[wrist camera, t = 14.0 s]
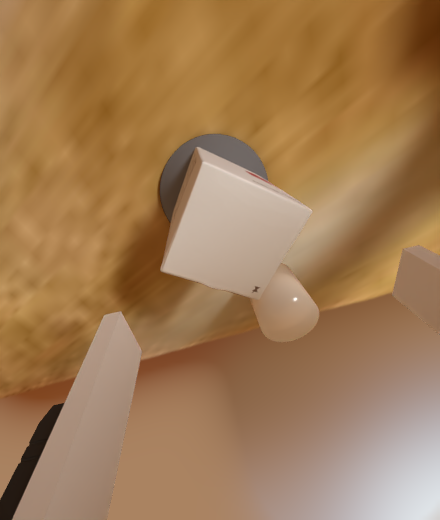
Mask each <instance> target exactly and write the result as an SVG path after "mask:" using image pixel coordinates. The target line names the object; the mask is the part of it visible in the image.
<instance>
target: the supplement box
mask: <svg viewBox="0 0 440 520" xmlns="http://www.w3.org/2000/svg"><path fill="white" fill-rule="evenodd" d="M311 214H312V210H311V209H310V208H308V207H307V206H305V205H304V204H302V203H301V202H299V201H298V200H296V199H295V198H293V197H292V196H290V195H289V194H287V193H285V192H284V191H282V190H281V189H279V188H278V187H276V186H274V185H273V184H271V183H270V182H268V181H267V180H265V179H264V178H262V177H261V176H259V175H257V174H255V173H253V172H251V171H249V170H247V169H245V168H243V167H241V166H238V165H236V164H234V163H232V162H230V161H228V160H226V159H223V158H221V157H219V156H217V155H215V154H213V153H210V152H208V151H206V150H204V149H202V148H199V147H196V148H195V150H194V153H193V156H192V158H191V161H190V164H189V167H188V170H187V173H186V176H185V179H184V182H183V185H182V188H181V190H180V193H179V196H178V199H177V202H176V205H175V208H174V211H173V215H172V220H171V225H170V230H169V234H168V239H167V243H166V248H165V253H164V257H163V261H162V265H161V268H160V271H161V272H163V273H167V274H170V275H174V276H177V277H181V278H184V279H187V280H191V281H194V282H198V283H201V284H204V285H206V286H208V287H211V288H214V289H220V290H225V291H228V292H232V293H235V294H238V295H242V296H245V297H248V298H252V299H255V300H259V299H260V297H261V295H262V294H263V292H264V290H265V289H266V287H267V285H268V284H269V282H270V280H271V279H272V277H273V275H274V274H275V272H276V270H277V269H278V267H279V265H280V264H281V262H282V260H283V259H284V257H285V256H286V254H287V252H288V251H289V249H290V248H291V246H292V245H293V243H294V241H295V240H296V238H297V237H298V235H299V234H300V232H301V231H302V229H303V227H304V225H305V224H306V222H307V220H308V219H309V217H310V215H311Z"/></svg>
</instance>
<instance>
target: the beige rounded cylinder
mask: <svg viewBox="0 0 440 520" xmlns="http://www.w3.org/2000/svg"><path fill="white" fill-rule="evenodd" d="M250 301H251V304H252V306H253V309H254V312H255V315H256V317H257V320H258V323H259V326H260V328H261V331H262V333H263V334H264V336H265V337H266V338H268V339H270V340H272V341H275V342H290V341H294V340H297V339H299V338H301V337H303V336H305V335H306V334H308V333H309V332H310V331H311V330H312V329H313V328H314V327H315V325H316V323H317V321H318V318H319V309H318V307H317V305H316V304H315V302H314V301H313V300H312V298H311V297H310V296H309V294H308V293H307V291H306V290H305V289H304V287H303V286H302V285H301V283H300V282H299V280H298V279H297V278H296V276H295V275H294V273H293V272H292V271H291V269H290V268H289V267H288V266H287V265H285V264H283V263H281V264H280V265H279V267H278V269H277V270H276V272H275V274H274V275H273V277H272V279H271V280H270V282H269V284H268V285H267V287H266V289H265V290H264V292H263V294H262V295H261V297H260V299H259V300H255V299H252V298H250Z"/></svg>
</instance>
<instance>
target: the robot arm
mask: <svg viewBox="0 0 440 520" xmlns="http://www.w3.org/2000/svg"><path fill="white" fill-rule="evenodd" d="M392 296H393V297H394V298H396V299H397V300H398V301H399V302H400V303H402V304H403V305H404V306H405V307H407V308H408V309H409V310H410V311H412V312H413V313H414V314H415V315H416V316H417V317H419V318H420V319H421V320H422V321H423V322H425V323H426V324H427V325H428V326H430V327H431V328H432V329H433V330H434V331H436V332H437V333H438V334H439V335H440V256H439V255H437V254H435V253H433V252H431V251H429V250H428V249H426V248H424V247H422V246H420V245H418V246H413V247H409V248H404V249H403V251H402V255H401V259H400V264H399V268H398V272H397V277H396V281H395V285H394V290H393V294H392ZM141 354H142V350H141V348H140V346H139V345H138V343H137V341H136V339H135V337H134V335H133V333H132V331H131V329H130V327H129V326H128V324H127V322H126V320H125V318H124V316H123V314H122V312H121V311H120V312H115V313H111V314H106V315H104V317H103V319H102V321H101V323H100V326H99V328H98V330H97V332H96V335H95V337H94V339H93V341H92V343H91V346H90V348H89V350H88V352H87V355H86V357H85V359H84V361H83V363H82V366H81V368H80V370H79V372H78V374H77V377H76V379H75V381H74V383H73V386H72V388H71V390H70V392H69V394H68V397H67V399H66V401H65V403H62V404H58V405H54V406H53V407H52V408H51V409H50V410H49V411H48V413H47V414H46V415H45V416H44V418H43V419H42V420H41V421H40V423H39V424H38V426H37V429H36V430H35V432H34V434H33V436H32V438H31V440H30V442H29V443H30V445H29V446H28V447H27V448H26V450H25V452H24V454H23V456H22V458H21V463H20V464H18V466H17V468H16V470H15V472H14V474H13V476H12V478H11V480H10V482H9V484H8V486H7V488H6V490H5V492H4V494H3V496H2V497H1V500H0V520H107V517H108V511H109V507H110V503H111V498H112V493H113V488H114V483H115V479H116V474H117V469H118V464H119V459H120V455H121V450H122V445H123V440H124V435H125V431H126V426H127V421H128V416H129V412H130V407H131V402H132V397H133V392H134V388H135V382H136V378H137V373H138V369H139V363H140V359H141Z"/></svg>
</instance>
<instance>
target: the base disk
mask: <svg viewBox="0 0 440 520" xmlns="http://www.w3.org/2000/svg"><path fill="white" fill-rule="evenodd" d="M196 147H199V148H202V149H204V150H206V151H208V152H210V153H213V154H215V155H217V156H219V157H221V158H223V159H226V160H228V161H230V162H232V163H234V164H236V165H238V166H241V167H243V168H245V169H247V170H249V171H251V172H253V173H255V174H257V175H259V176H261V177H262V178H264V179H265V180H267V181H268V179H267V174H266V171H265V168H264V166H263V164H262V162H261V160H260V158H259V157H258V155H257V154H256V153H255V152H254V151H253V150H252V149H251V148H250V147H249V146H248V145H246V144H245V143H243V142H242V141H240V140H238V139H236V138H234V137H230V136H227V135H221V134H208V135H202V136H199V137H196V138H194V139H191V140H189V141H188V142H186V143H185V144H183V145H182V146H181V147H179V148H178V149H177V150H176V151H175V152H174V154H173V155H172V156H171V157H170V159H169V161H168V162H167V164H166V166H165V168H164V171H163V174H162V177H161V183H160V198H161V203H162V207H163V210H164V212H165V215H166V216H167V218H168V220H169V221H170V223H171V220H172V215H173V211H174V208H175V205H176V202H177V199H178V196H179V193H180V190H181V188H182V185H183V182H184V179H185V176H186V173H187V170H188V167H189V164H190V161H191V158H192V156H193V153H194V150H195V148H196Z"/></svg>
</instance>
